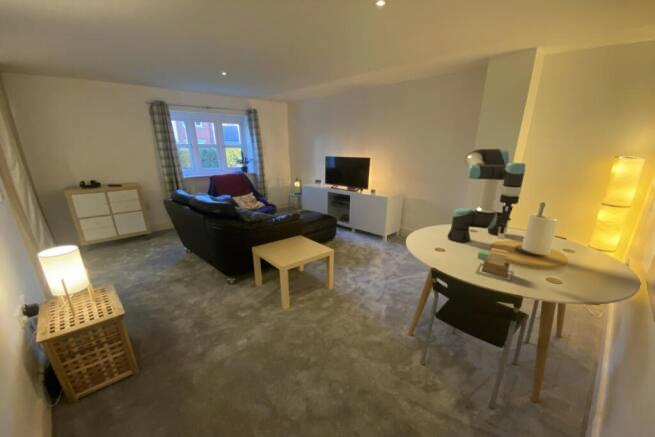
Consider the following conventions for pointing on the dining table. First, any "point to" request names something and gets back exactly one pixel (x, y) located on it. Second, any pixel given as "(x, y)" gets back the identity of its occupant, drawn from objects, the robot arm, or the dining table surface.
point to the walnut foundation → (495, 268)
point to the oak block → (497, 257)
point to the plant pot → (496, 225)
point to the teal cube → (483, 254)
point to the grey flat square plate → (508, 279)
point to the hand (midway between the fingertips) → (502, 235)
